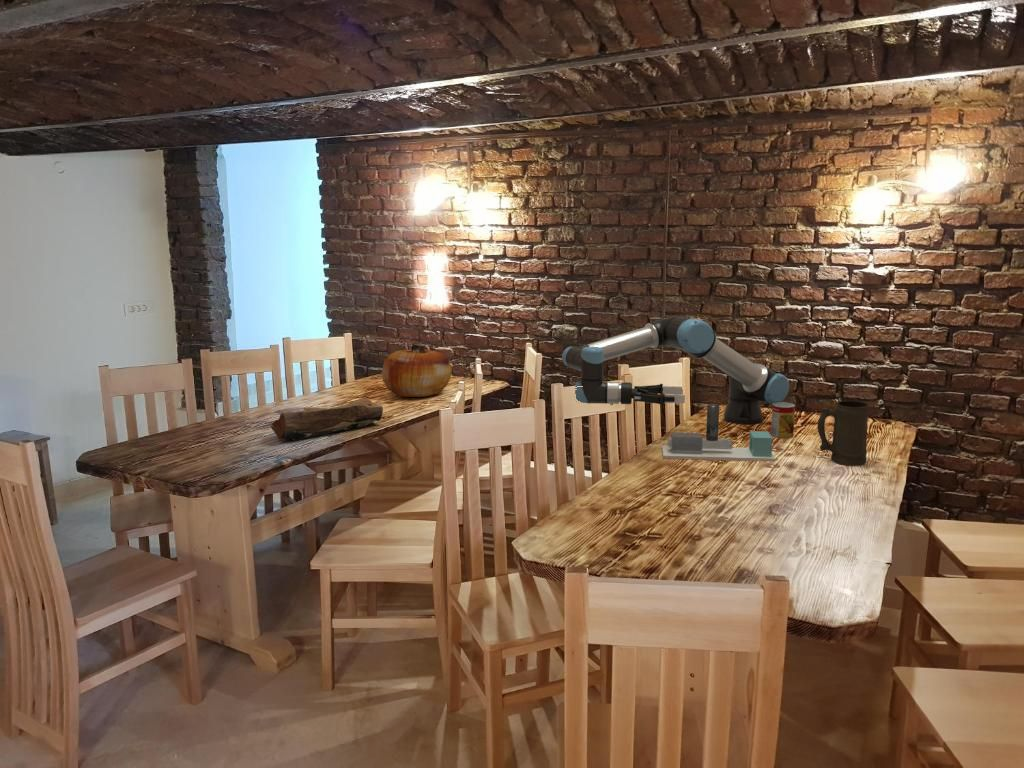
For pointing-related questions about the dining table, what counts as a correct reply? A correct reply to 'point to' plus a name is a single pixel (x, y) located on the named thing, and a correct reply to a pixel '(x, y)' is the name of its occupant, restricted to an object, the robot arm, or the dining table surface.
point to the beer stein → (846, 432)
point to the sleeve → (686, 443)
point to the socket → (760, 444)
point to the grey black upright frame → (712, 431)
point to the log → (326, 420)
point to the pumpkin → (416, 372)
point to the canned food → (782, 420)
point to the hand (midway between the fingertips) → (683, 394)
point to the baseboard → (717, 455)
